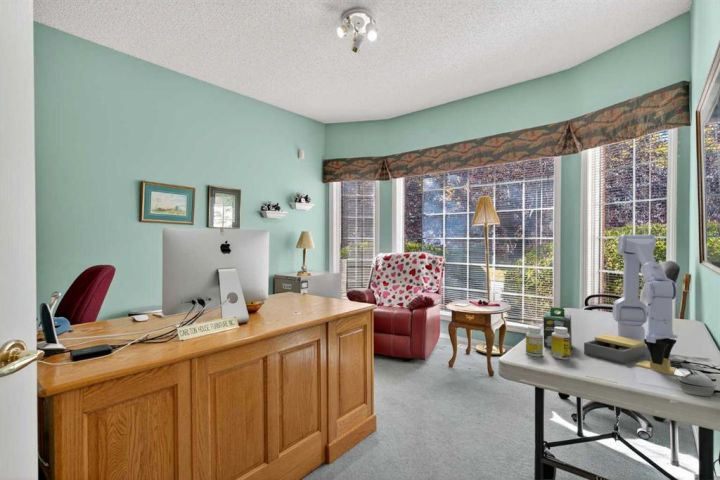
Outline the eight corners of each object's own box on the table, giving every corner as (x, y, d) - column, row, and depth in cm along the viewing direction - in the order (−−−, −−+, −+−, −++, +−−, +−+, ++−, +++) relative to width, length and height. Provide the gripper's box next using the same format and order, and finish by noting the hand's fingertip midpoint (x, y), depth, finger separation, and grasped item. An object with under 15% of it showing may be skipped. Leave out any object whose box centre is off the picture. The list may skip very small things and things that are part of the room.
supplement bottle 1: (540, 357, 118) (540, 329, 119) (523, 354, 122) (524, 327, 122) (544, 354, 123) (544, 327, 123) (528, 351, 126) (528, 324, 126)
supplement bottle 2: (565, 361, 115) (565, 330, 116) (548, 356, 120) (548, 327, 120) (573, 358, 118) (573, 328, 119) (556, 353, 123) (556, 325, 123)
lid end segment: (644, 363, 116) (644, 349, 116) (692, 374, 105) (692, 360, 106) (635, 366, 112) (635, 353, 112) (683, 379, 102) (683, 364, 102)
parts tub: (607, 346, 132) (607, 333, 132) (645, 355, 122) (645, 341, 122) (584, 353, 124) (584, 339, 124) (623, 363, 113) (623, 348, 113)
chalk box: (571, 344, 135) (571, 306, 135) (571, 350, 127) (571, 310, 127) (544, 341, 140) (545, 304, 140) (542, 346, 132) (543, 307, 132)
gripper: (667, 324, 101) (667, 370, 101) (685, 318, 108) (685, 362, 108) (638, 319, 107) (638, 363, 107) (657, 314, 114) (657, 356, 114)
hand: (660, 362), depth 108 cm, fingers open, 4 cm apart
